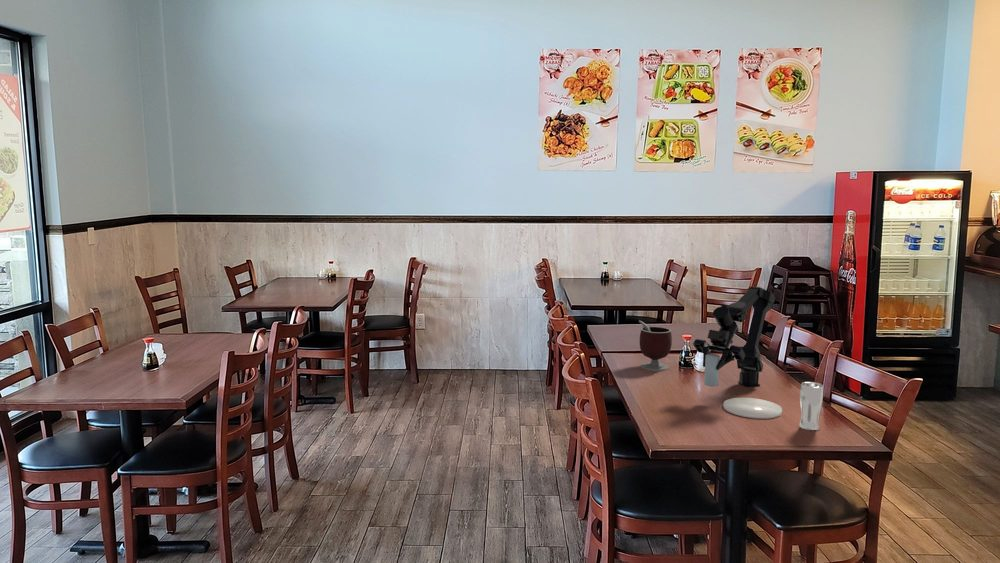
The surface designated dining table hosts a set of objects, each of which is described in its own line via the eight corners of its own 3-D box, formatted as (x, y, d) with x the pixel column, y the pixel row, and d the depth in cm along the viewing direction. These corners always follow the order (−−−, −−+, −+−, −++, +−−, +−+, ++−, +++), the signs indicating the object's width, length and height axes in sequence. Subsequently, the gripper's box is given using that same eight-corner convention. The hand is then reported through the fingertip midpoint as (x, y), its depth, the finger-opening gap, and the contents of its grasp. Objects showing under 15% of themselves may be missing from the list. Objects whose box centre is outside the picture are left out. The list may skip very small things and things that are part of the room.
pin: (712, 381, 263) (713, 353, 262) (721, 385, 259) (722, 356, 257) (701, 383, 262) (702, 354, 260) (710, 387, 257) (711, 357, 255)
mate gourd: (676, 367, 310) (678, 322, 307) (660, 373, 300) (662, 327, 297) (645, 360, 320) (647, 318, 317) (629, 366, 310) (631, 322, 307)
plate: (764, 399, 264) (764, 396, 264) (793, 417, 245) (793, 414, 245) (714, 401, 262) (714, 398, 262) (738, 419, 242) (739, 416, 242)
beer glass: (807, 432, 231) (810, 388, 228) (793, 425, 237) (796, 382, 235) (825, 430, 232) (828, 386, 230) (810, 423, 239) (813, 380, 237)
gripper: (696, 318, 266) (680, 351, 260) (743, 325, 253) (727, 360, 247) (705, 334, 273) (690, 367, 267) (751, 342, 260) (736, 377, 254)
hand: (710, 367), depth 258 cm, fingers closed on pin, 5 cm apart
